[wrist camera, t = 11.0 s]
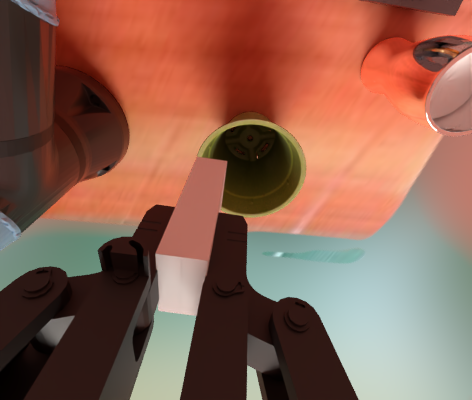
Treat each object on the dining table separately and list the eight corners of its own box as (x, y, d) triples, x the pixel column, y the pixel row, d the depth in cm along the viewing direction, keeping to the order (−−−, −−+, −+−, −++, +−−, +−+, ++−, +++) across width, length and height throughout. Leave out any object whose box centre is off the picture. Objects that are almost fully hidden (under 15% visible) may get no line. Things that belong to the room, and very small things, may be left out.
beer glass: (380, 22, 29) (476, 18, 16) (432, 46, 30) (559, 60, 18) (345, 85, 33) (402, 121, 20) (392, 105, 34) (474, 151, 21)
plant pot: (207, 169, 40) (194, 212, 31) (211, 88, 34) (196, 111, 24) (282, 178, 41) (292, 224, 31) (301, 99, 34) (320, 127, 25)
